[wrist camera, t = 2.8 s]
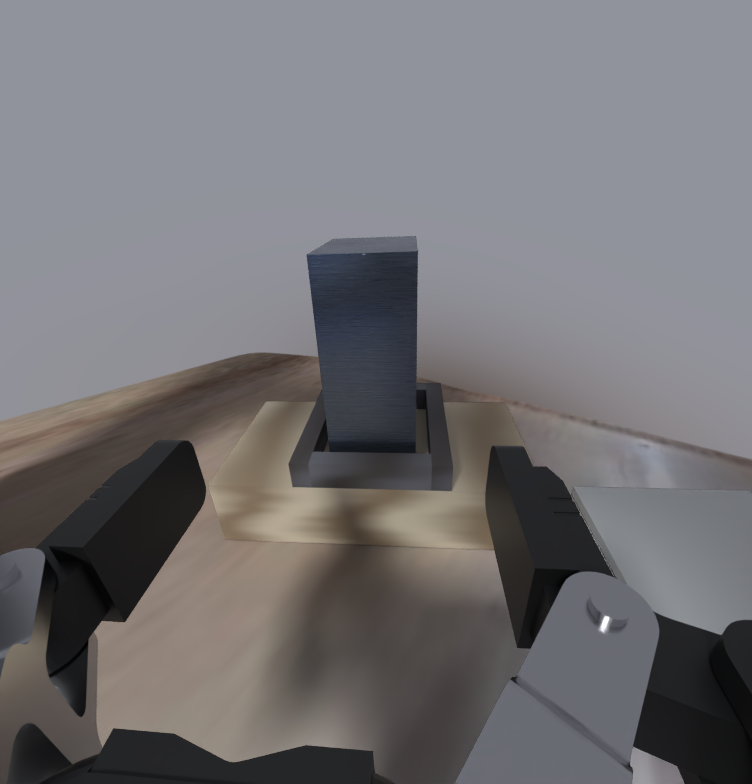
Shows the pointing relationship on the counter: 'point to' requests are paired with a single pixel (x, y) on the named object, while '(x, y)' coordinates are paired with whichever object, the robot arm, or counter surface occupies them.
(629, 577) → the rubber mat
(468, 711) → the counter surface
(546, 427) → the counter surface
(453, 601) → the counter surface
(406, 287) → the brushed metal block
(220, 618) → the counter surface
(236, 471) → the tan piece
